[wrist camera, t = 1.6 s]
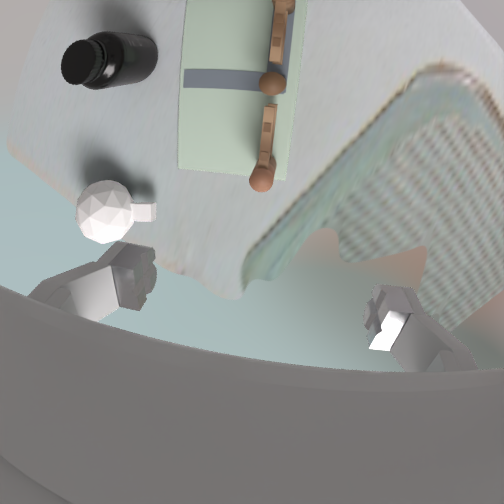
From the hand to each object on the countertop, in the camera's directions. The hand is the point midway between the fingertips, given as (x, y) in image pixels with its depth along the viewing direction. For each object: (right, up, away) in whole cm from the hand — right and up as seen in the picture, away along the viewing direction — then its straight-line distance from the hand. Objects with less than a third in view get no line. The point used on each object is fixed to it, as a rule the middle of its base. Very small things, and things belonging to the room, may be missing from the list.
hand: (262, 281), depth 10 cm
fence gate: (+2, +14, +22) cm, 26 cm away
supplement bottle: (-15, +26, +19) cm, 35 cm away
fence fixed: (+3, +24, +16) cm, 29 cm away
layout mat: (-2, +21, +19) cm, 28 cm away
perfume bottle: (-19, +9, +31) cm, 37 cm away
